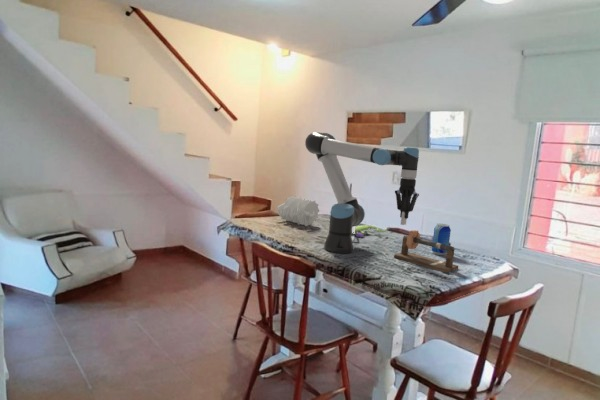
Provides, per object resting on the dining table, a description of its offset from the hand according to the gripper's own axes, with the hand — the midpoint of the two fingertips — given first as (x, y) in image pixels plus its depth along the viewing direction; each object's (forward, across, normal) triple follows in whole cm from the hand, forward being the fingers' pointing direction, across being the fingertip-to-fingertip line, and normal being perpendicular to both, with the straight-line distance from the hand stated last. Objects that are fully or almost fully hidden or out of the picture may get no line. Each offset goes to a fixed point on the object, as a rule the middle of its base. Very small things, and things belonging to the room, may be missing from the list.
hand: (403, 224), depth 219 cm
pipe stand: (+17, -14, 0) cm, 22 cm away
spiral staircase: (+16, +82, -7) cm, 84 cm away
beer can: (+17, -8, -26) cm, 32 cm away
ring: (+11, -7, 0) cm, 13 cm away
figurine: (+17, +42, -25) cm, 51 cm away
